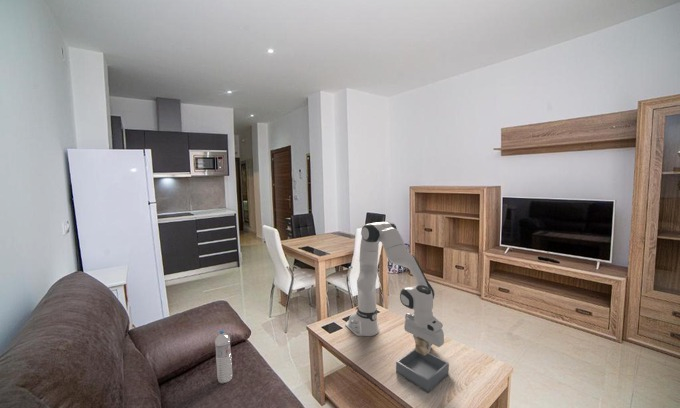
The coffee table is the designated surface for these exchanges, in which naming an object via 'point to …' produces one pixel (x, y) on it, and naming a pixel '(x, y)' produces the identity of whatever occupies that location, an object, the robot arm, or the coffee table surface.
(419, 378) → the bin
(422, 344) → the beech block
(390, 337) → the coffee table surface
